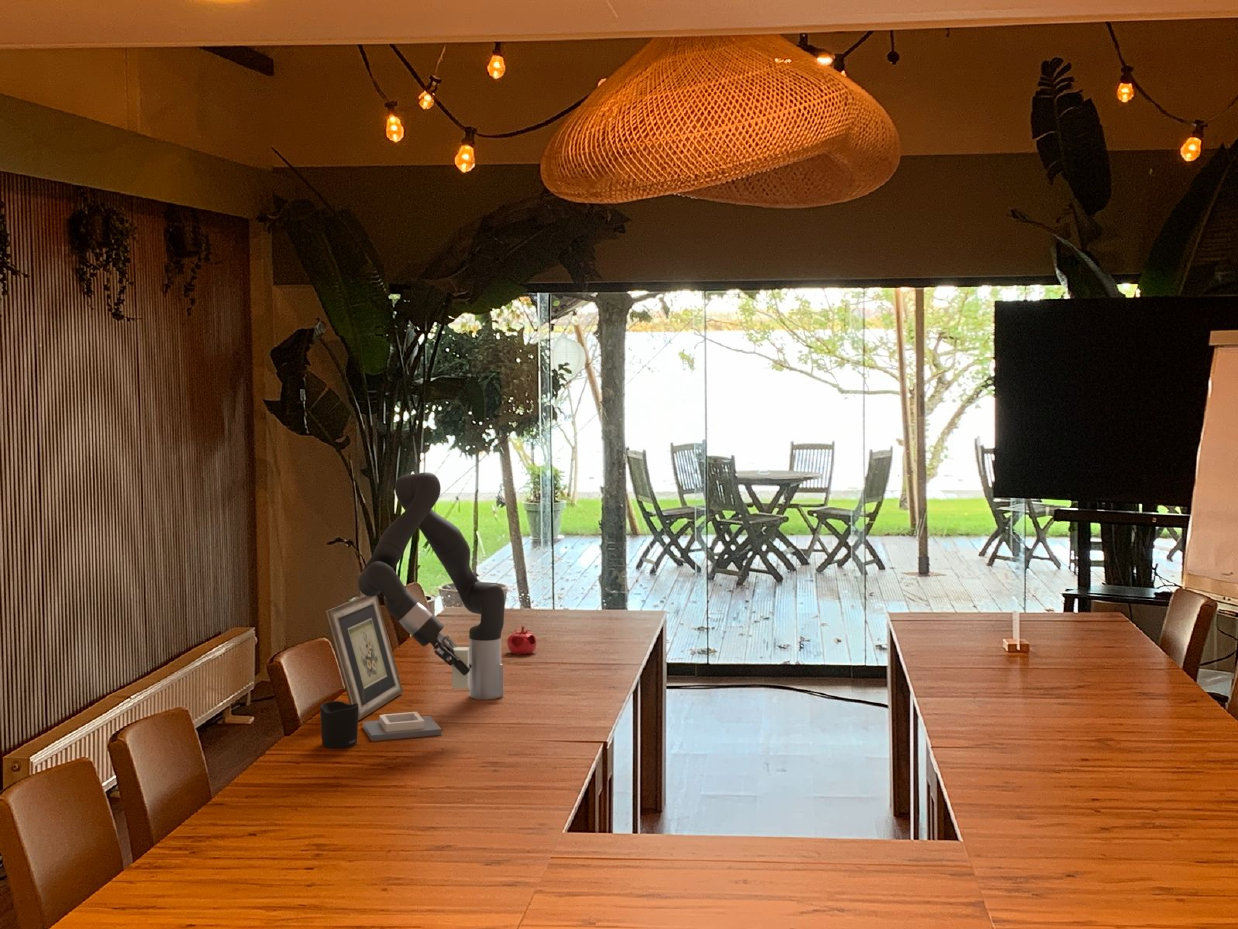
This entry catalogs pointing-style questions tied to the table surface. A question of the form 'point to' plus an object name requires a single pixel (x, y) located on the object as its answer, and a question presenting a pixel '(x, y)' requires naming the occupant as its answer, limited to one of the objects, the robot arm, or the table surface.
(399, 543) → the robot arm
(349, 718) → the pen holder
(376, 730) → the grey base with frame
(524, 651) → the pomegranate
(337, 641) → the picture frame
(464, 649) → the sage block
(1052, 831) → the table surface
